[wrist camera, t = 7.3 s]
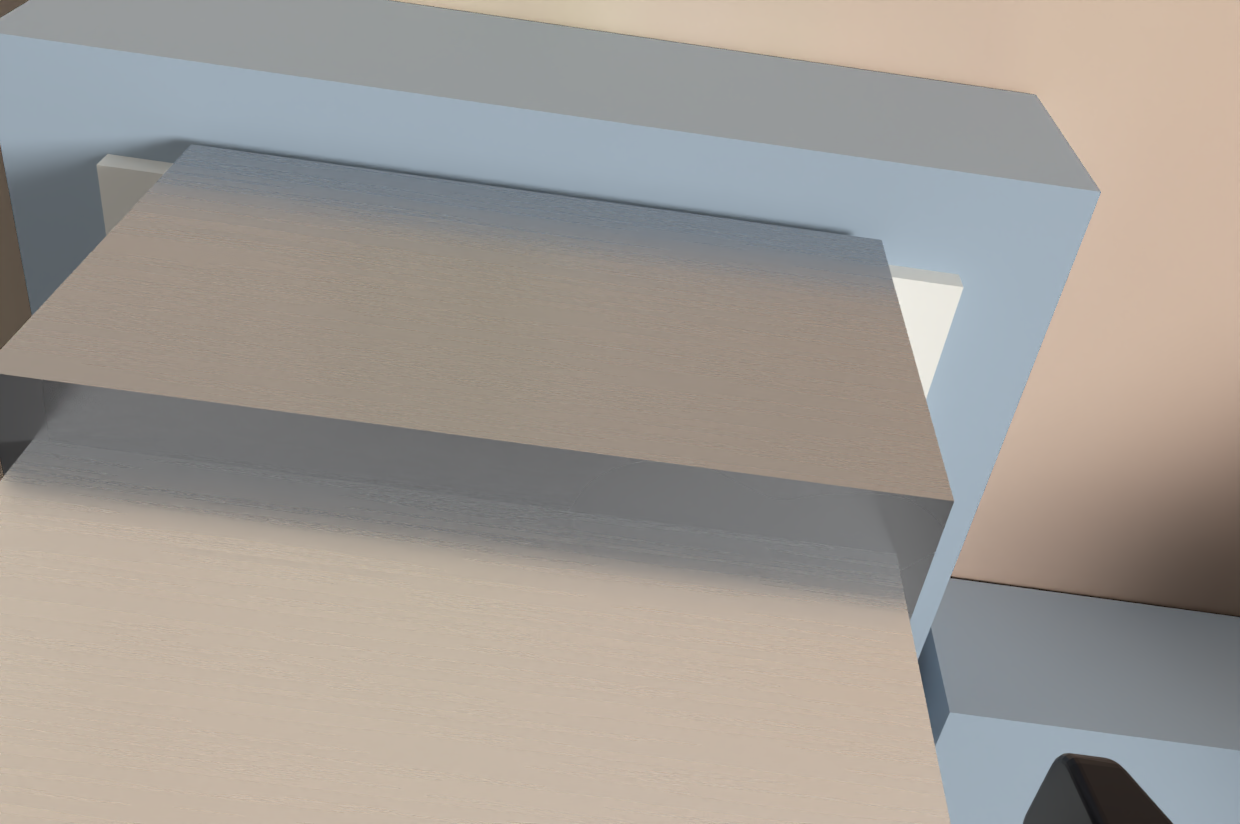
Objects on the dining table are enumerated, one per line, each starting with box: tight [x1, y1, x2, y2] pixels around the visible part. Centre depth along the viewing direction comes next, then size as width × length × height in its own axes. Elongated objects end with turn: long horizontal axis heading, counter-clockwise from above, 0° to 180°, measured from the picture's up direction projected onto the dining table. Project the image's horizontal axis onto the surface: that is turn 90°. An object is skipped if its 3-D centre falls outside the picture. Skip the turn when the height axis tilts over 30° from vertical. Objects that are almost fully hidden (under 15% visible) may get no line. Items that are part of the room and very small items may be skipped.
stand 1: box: [0, 0, 1101, 660], centre depth 11 cm, size 8×8×2 cm
